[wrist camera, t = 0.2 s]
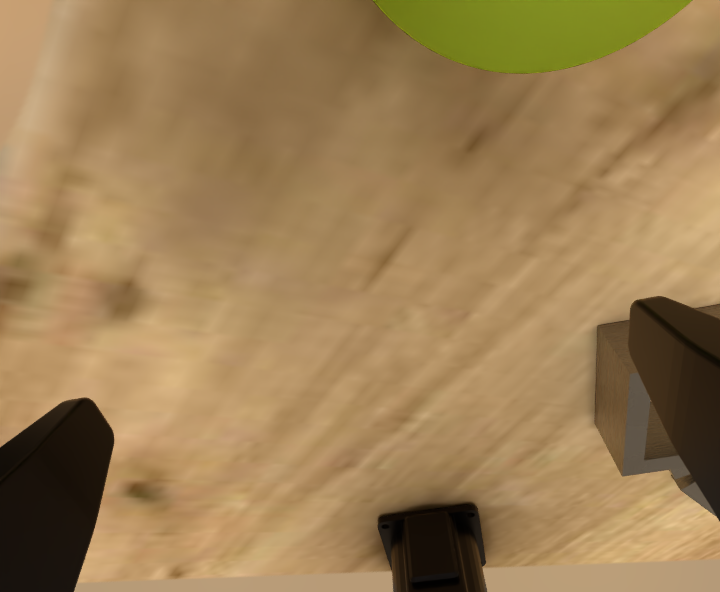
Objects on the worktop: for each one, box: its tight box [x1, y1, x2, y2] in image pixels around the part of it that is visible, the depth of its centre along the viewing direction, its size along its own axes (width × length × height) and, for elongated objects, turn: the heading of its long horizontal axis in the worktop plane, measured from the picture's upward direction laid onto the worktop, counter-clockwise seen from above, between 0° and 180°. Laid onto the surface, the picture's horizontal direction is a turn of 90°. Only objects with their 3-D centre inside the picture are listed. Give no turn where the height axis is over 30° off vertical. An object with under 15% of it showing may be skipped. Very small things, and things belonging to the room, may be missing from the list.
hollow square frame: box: [595, 305, 720, 476], centre depth 26 cm, size 7×7×4 cm
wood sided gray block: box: [671, 474, 716, 516], centre depth 32 cm, size 4×2×1 cm, turn 50°
